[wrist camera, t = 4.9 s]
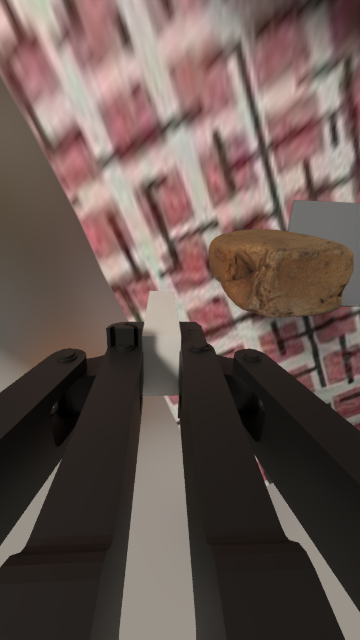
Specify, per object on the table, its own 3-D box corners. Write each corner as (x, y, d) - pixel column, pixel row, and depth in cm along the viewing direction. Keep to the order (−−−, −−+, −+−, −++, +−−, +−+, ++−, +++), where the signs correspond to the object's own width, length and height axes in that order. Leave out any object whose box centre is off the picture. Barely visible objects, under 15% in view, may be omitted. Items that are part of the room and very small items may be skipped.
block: (276, 227, 41) (371, 239, 22) (271, 276, 43) (352, 323, 25) (205, 230, 40) (241, 244, 22) (205, 279, 43) (237, 329, 24)
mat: (274, 303, 45) (275, 304, 45) (293, 200, 39) (294, 200, 39) (397, 306, 47) (398, 306, 46) (432, 206, 41) (434, 206, 41)
